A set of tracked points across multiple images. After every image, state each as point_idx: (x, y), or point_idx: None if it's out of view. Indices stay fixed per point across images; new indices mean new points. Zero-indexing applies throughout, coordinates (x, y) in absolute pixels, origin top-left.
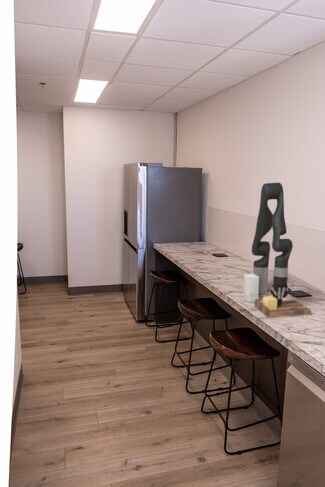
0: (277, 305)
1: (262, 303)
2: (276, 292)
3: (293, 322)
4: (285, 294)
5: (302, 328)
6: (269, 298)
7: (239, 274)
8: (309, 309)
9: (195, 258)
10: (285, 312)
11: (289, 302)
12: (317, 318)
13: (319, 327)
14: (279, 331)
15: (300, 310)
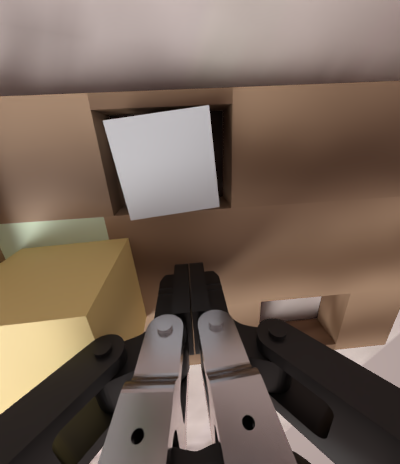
0: (188, 240)
1: (25, 163)
2: (133, 431)
3: (198, 396)
4: (296, 426)
5: (207, 437)
6: (11, 401)
7: None
8: (389, 332)
9: None
10: (192, 360)
11: (365, 163)
12: (353, 360)
13: (284, 429)
14: (93, 458)
15: (334, 302)
